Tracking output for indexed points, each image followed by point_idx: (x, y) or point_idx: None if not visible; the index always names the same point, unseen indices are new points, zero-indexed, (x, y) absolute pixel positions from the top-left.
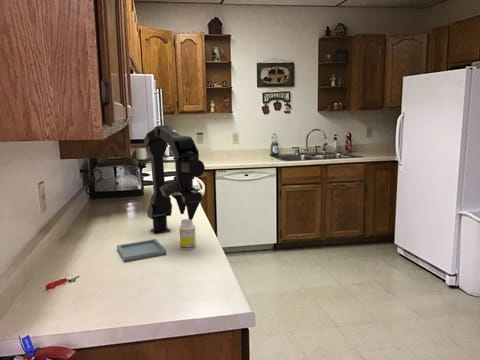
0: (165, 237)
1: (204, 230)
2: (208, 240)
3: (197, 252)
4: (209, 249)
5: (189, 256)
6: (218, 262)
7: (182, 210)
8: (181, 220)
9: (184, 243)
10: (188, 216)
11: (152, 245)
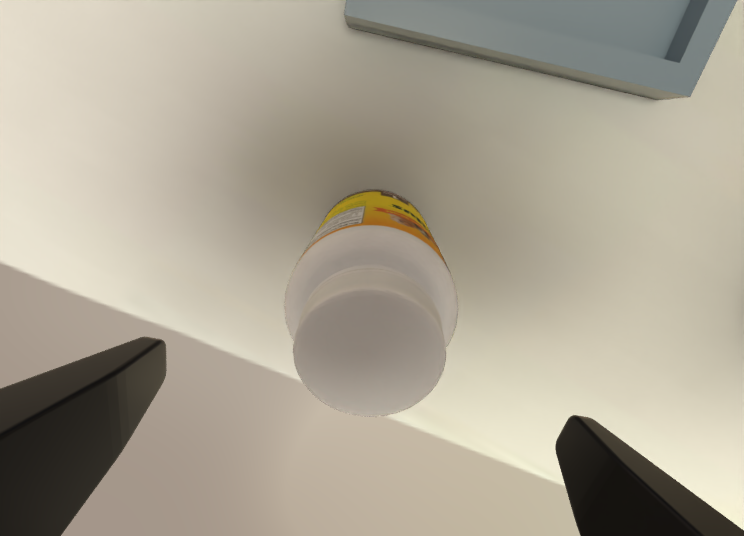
0: (704, 237)
1: None
2: None
3: (253, 238)
4: (259, 318)
5: (211, 155)
6: (15, 237)
7: (590, 487)
8: (422, 310)
9: (338, 206)
10: (105, 363)
11: (606, 18)
